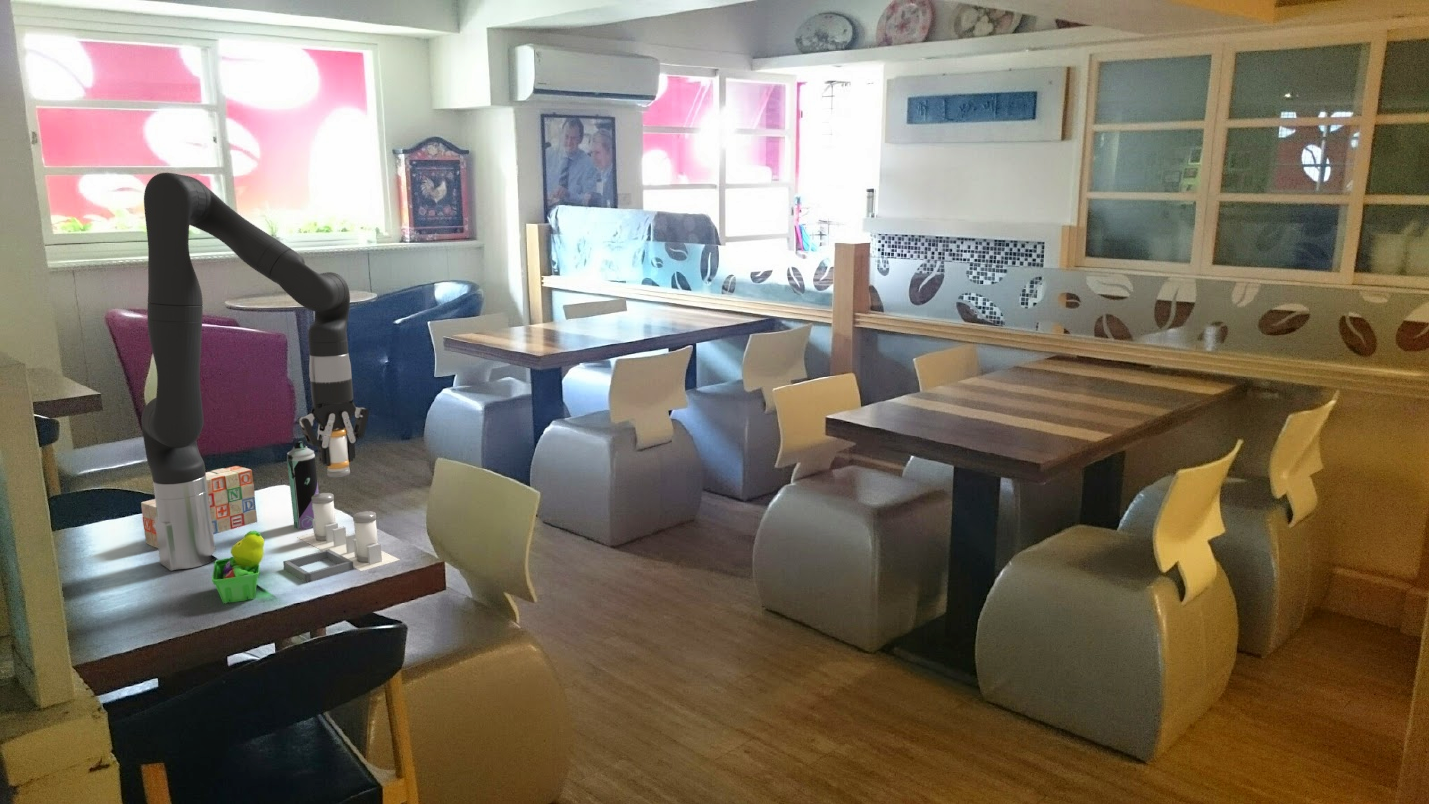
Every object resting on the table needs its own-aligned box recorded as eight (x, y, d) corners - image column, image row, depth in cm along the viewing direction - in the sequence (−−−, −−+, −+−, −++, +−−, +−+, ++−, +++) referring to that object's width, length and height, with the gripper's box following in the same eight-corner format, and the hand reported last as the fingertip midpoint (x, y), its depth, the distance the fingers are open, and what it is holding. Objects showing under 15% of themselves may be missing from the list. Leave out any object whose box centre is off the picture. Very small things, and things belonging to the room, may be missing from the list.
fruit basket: (217, 585, 190) (210, 528, 188) (269, 577, 194) (262, 521, 191) (215, 608, 180) (207, 547, 178) (269, 599, 184) (262, 539, 181)
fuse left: (321, 542, 208) (317, 500, 206) (312, 538, 211) (307, 496, 209) (341, 537, 211) (337, 495, 209) (331, 533, 214) (327, 491, 212)
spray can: (312, 536, 216) (303, 445, 212) (289, 535, 217) (279, 444, 213) (327, 528, 221) (318, 438, 217) (304, 526, 223) (295, 437, 218)
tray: (307, 590, 187) (306, 574, 187) (284, 576, 194) (283, 561, 194) (354, 576, 194) (352, 561, 193) (330, 563, 200) (328, 549, 200)
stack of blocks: (160, 550, 210) (153, 493, 207) (145, 544, 213) (137, 488, 211) (258, 522, 227) (252, 468, 224) (242, 517, 230) (236, 464, 228)
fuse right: (363, 564, 196) (359, 519, 194) (353, 559, 198) (348, 514, 197) (383, 558, 198) (379, 514, 197) (373, 553, 201) (369, 509, 199)
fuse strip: (361, 578, 192) (359, 553, 191) (297, 544, 212) (295, 521, 211) (400, 567, 198) (398, 542, 197) (334, 534, 217) (332, 511, 216)
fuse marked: (333, 478, 198) (329, 433, 196) (323, 474, 201) (319, 429, 199) (353, 474, 201) (350, 429, 199) (344, 470, 204) (340, 426, 202)
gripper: (302, 384, 190) (310, 474, 193) (374, 375, 199) (381, 460, 203) (286, 379, 195) (293, 466, 198) (357, 370, 205) (363, 453, 208)
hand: (337, 462), depth 201 cm, fingers closed on fuse marked, 4 cm apart
